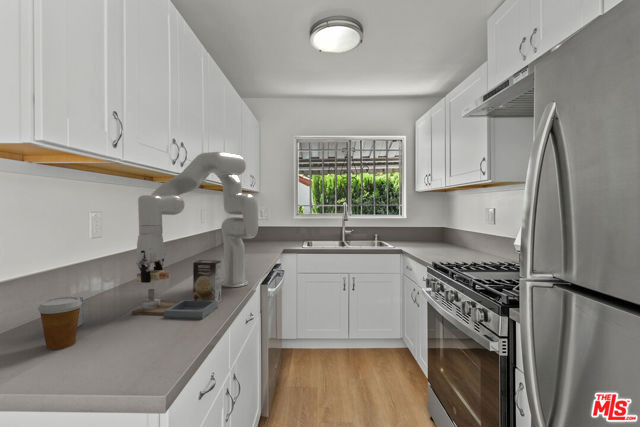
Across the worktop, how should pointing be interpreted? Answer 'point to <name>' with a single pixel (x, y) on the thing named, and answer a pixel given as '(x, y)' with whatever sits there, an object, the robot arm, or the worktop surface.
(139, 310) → the stake board
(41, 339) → the worktop surface
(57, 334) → the disposable coffee cup
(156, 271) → the birch ring
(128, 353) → the worktop surface
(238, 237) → the robot arm
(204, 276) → the brown food box
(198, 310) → the grey square tray
